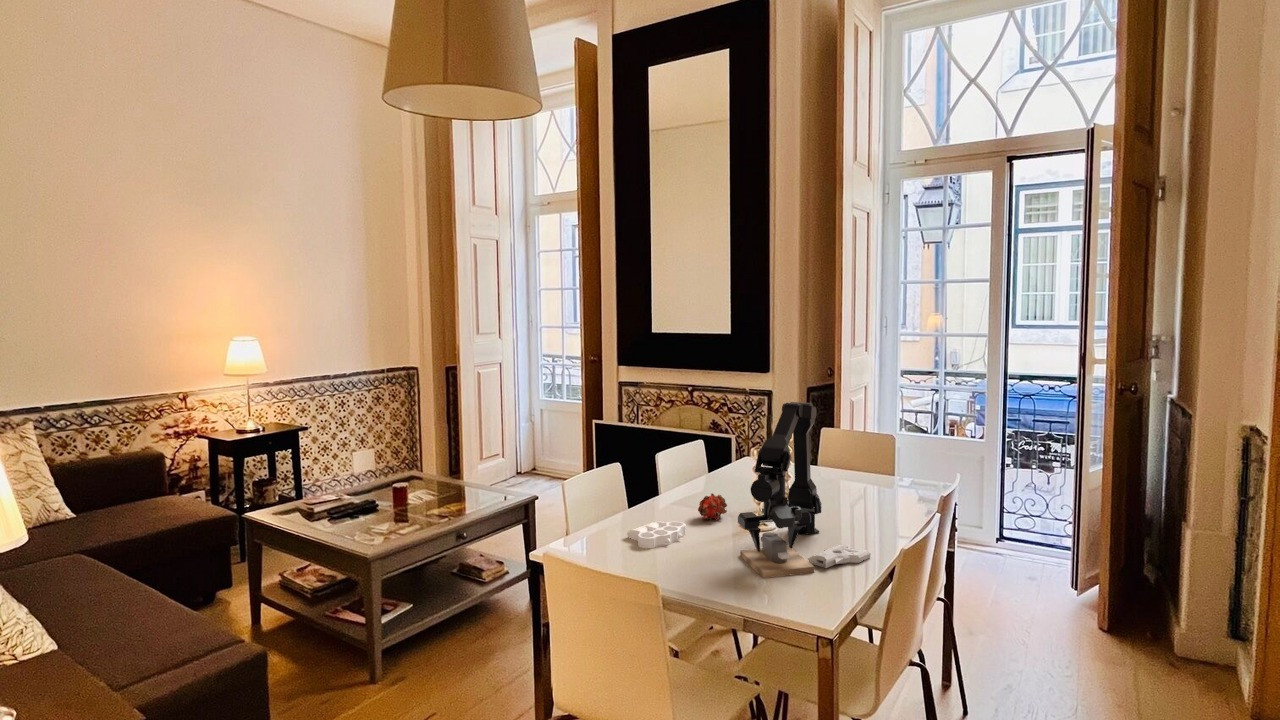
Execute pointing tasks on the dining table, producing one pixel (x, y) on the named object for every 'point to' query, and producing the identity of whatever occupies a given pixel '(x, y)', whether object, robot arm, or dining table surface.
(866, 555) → the gun
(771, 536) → the plug
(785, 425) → the robot arm
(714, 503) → the dragon fruit
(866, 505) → the dining table surface
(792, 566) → the oak board
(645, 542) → the white egg tray
